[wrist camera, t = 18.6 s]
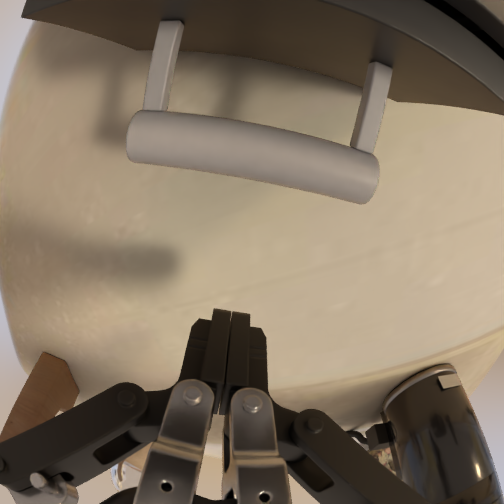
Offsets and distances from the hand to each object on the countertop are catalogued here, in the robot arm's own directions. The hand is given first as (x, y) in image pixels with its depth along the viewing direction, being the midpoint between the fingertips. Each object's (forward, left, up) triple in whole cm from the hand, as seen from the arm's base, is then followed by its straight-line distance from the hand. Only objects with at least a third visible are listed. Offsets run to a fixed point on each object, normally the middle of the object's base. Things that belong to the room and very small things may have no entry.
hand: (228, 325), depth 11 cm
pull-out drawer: (+16, 0, -4) cm, 16 cm away
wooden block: (-19, +17, -6) cm, 26 cm away
